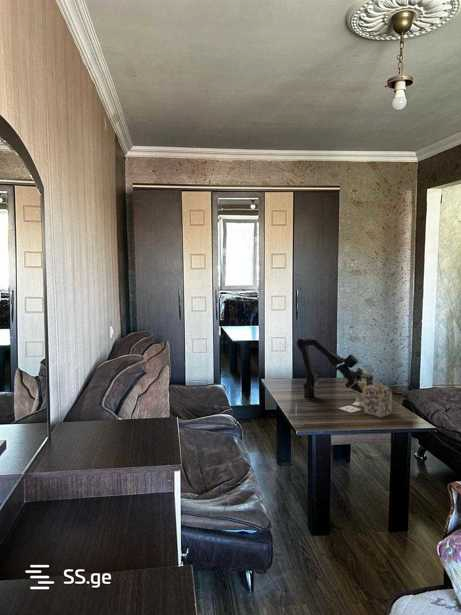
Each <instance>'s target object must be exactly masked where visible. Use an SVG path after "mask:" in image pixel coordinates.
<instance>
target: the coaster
mask: <svg viewBox="0 0 461 615" xmlns="http://www.w3.org/2000/svg"><path fill="white" fill-rule="evenodd" d="M351 406H358V407H363V408H364V403H360V402H356V401H355V402H353V403H352V404H351Z"/></svg>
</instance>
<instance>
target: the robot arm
mask: <svg viewBox="0 0 461 615" xmlns="http://www.w3.org/2000/svg"><path fill="white" fill-rule="evenodd" d="M296 346H297V349H298V350H299V351H300V353H301V357H302V360H303V364H304V368H305V372H306V374H305V376H306V377H305V380H306V382H305V383H303V385H302V386H303V387H302V388H303V389H304V393H303V394H304V395H303V398H306V399H307V398H309V399H314V398H315V397H316V389H315V388H316V386H317V384H318V383H319V380H320V378H319V377H318V373H316V372H315V371H314V367H313V364H312V359H311V356H310V352H309V347H310V346H313V347H314V348H315V349H316V350H318V351H319V352H321V353H322V355H324V357H325V358H327V360H328V362H329V363H330V364H331V365H332V366H335V367H334V368H335V370H334V371H335V372H339V373H341V375H342V377H343V379H346V381H347V382H346V383H345V388H346V389H351V390H353V391H355V392H356V391H358V392H360V393H363V392H362V390H361V389H360V387H359V386H358V381H361V382H362V379H361V378H362V377H363V376H362V374H365V373H364V369H362V368H361V367H358V368H357V369H356V370H355V371H354V370H351V369H352V368H353V367H355V366H356V365H357V364H358V363H359V360H358V359H357V357H356V356H354V355H352V354H351V353H350V354H349V355H348V356H347V357H346V358H344V357H342V356H340V355H339V354H337V353H334V352H332V351H331V350H330V349H329V348H327V347H326V345H324V344H323V343H322V342H321V341H319V339H317V338H316V337H315V338H305V337H302V338H299V339H297V341H296Z"/></svg>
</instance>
